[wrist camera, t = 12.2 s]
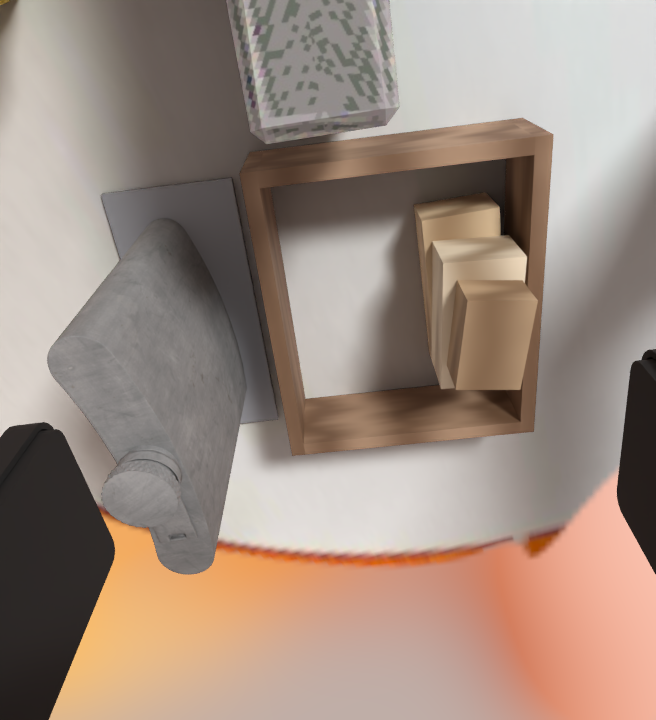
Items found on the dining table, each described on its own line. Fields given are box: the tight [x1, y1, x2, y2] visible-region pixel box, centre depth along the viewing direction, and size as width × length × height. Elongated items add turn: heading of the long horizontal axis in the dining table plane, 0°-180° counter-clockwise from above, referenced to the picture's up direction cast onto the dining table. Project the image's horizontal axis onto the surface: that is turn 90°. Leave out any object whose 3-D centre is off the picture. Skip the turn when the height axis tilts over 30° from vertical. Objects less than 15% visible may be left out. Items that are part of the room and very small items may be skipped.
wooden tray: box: [239, 118, 553, 456], centre depth 42 cm, size 18×21×6 cm
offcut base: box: [414, 192, 501, 356], centre depth 44 cm, size 5×12×4 cm, turn 10°
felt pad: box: [101, 178, 278, 423], centre depth 46 cm, size 9×20×1 cm, turn 7°
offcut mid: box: [431, 235, 527, 389], centre depth 40 cm, size 5×9×4 cm, turn 5°
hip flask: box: [47, 218, 247, 574], centre depth 37 cm, size 16×4×20 cm, turn 15°
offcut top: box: [447, 280, 538, 390], centre depth 37 cm, size 4×6×3 cm, turn 179°
